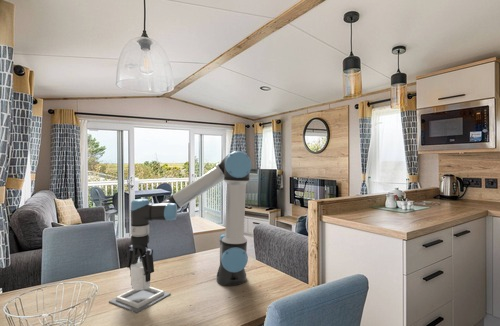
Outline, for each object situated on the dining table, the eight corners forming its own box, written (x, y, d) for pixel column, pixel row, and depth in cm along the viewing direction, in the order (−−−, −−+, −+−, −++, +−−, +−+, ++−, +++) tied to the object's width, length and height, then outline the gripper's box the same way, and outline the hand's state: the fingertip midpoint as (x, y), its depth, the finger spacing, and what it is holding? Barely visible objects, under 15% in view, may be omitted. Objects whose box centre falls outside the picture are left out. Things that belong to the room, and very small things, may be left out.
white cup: (131, 292, 118) (131, 268, 118) (129, 285, 125) (129, 262, 125) (151, 288, 122) (151, 265, 122) (148, 281, 129) (148, 260, 129)
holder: (170, 294, 127) (170, 290, 127) (136, 313, 111) (136, 308, 111) (143, 286, 136) (143, 281, 136) (108, 302, 120) (108, 297, 120)
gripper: (117, 233, 125) (117, 284, 125) (149, 239, 115) (149, 295, 115) (132, 229, 131) (132, 278, 132) (163, 235, 121) (163, 288, 121)
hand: (140, 286), depth 123 cm, fingers closed on white cup, 7 cm apart
